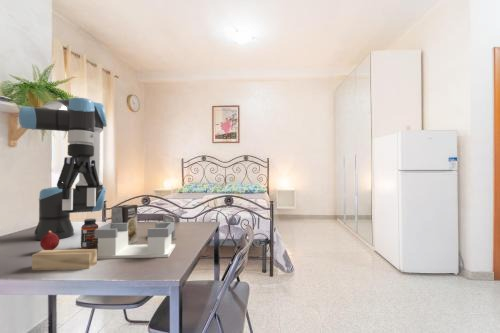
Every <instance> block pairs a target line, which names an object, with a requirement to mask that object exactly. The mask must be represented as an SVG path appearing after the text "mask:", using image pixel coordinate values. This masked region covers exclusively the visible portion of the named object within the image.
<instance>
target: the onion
mask: <svg viewBox="0 0 500 333" xmlns="http://www.w3.org/2000/svg"><path fill="white" fill-rule="evenodd" d="M39 241H40V243H39V244H40V247H41V248H42V250H56V248H57V247H59V244H60V239H59V238H58V236H57V235H56V234H54V233H52V232H51V231H48V234H46V235H45V236H44V237H43V238H42V239H41V240H39Z"/></svg>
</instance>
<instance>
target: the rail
mask: <svg viewBox="0 0 500 333" xmlns="http://www.w3.org/2000/svg"><path fill="white" fill-rule="evenodd" d="M97 253H98V248H92V249H82V248H81V249H80V248H79V249H78V248H77V249H54V250H44V249H42V250H40V251H38V252H36V253H33V254H32V255H31V271H51V270H53V271H55V270H58V271H59V270H87V269H88V270H90V269H91V268H92V267H94V266H95V265H97V263H98V262H97V261H98V259H97Z"/></svg>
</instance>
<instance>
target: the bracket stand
mask: <svg viewBox="0 0 500 333" xmlns="http://www.w3.org/2000/svg"><path fill="white" fill-rule="evenodd" d="M154 226H155V227H148V228H147V235H148V238H147V243H145V244H144V243H143V244H130V245H128V223H111V222H109V223H107V224H105V225H102V226H101V227H98V229H95V238H98V246H97V260H104V259H106V260H107V259H139V258H140V259H141V258H142V259H143V258H144V259H145V258H146V259H147V258H169V257H170V255H171V254H172V252H173V251H174V250H175V247H176V243H172V240H171V233H172V232H173V231H174V228H175V229H176V221H175V222H163V221H157V222H155V225H154Z"/></svg>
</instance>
